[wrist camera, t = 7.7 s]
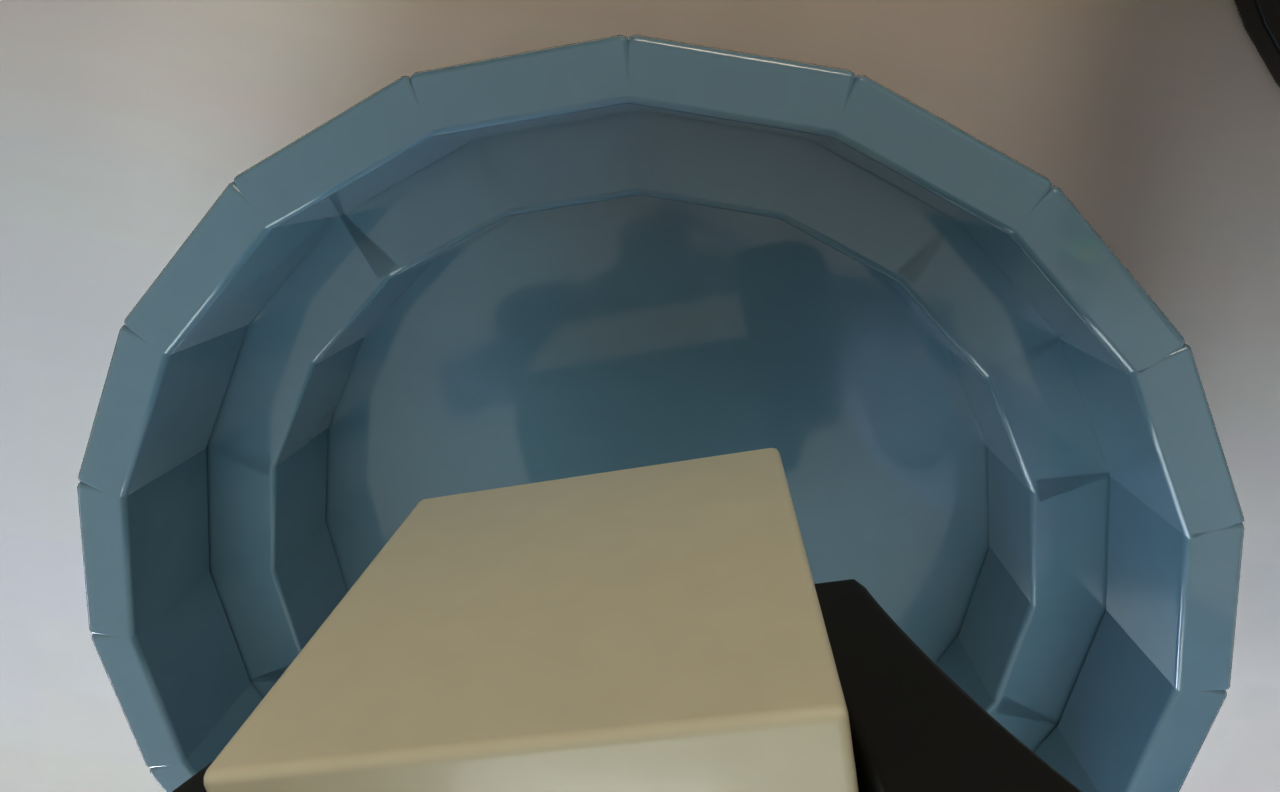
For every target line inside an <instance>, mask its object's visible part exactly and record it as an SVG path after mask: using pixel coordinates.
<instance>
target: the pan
mask: <svg viewBox="0 0 1280 792" xmlns="http://www.w3.org/2000/svg"><path fill="white" fill-rule="evenodd" d="M1234 1H1235V3H1236V6H1237V9H1238V11H1239V14H1240V17H1241V19H1242V22H1243V24H1244V27H1245V29H1246V31H1247V33H1248V35H1249V36H1250V38H1251V40H1252V42H1253V43H1254V45H1255V47H1256V49H1257V50H1258V52H1259V54H1260V56H1261V57H1262V59H1263V61H1264V63H1265V64H1266V66H1267V68H1268V69H1269V71H1270V73H1271V75H1272V76H1273V78H1274V80H1275V82H1276V83H1277V84H1278V85H1279V87H1280V0H1234Z"/></svg>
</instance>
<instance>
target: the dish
mask: <svg viewBox="0 0 1280 792" xmlns="http://www.w3.org/2000/svg"><path fill="white" fill-rule="evenodd" d="M124 323H125V325H123V326H122V328H121V329H120V331H119V334H118V338H117V342H116V345H115V349H114V352H113V356H112V359H111V363H110V366H109V370H108V373H107V377H106V380H105V384H104V388H103V391H102V395H101V398H100V402H99V405H98V409H97V412H96V416H95V419H94V423H93V426H92V430H91V433H90V437H89V441H88V444H87V448H86V451H85V455H84V458H83V462H82V465H81V469H80V472H79V476H78V479H79V481H80V483H79V484H78V487H77V490H78V502H79V514H80V525H81V537H82V549H83V561H84V572H85V584H86V596H87V608H88V619H89V630H90V631H91V633H93V635H92V641H93V643H94V645H95V648H96V650H97V652H98V655H99V657H100V659H101V662H102V664H103V666H104V669H105V671H106V673H107V675H108V678H109V680H110V682H111V685H112V687H113V689H114V692H115V694H116V696H117V699H118V701H119V703H120V706H121V708H122V710H123V713H124V715H125V717H126V720H127V722H128V724H129V726H130V729H131V731H132V733H133V736H134V738H135V740H136V743H137V745H138V747H139V750H140V752H141V754H142V757H143V759H144V761H145V764H146V766H148V767H149V768H151V769H150V773H151V774H152V776H153V777H154V778H155V779H156V781H157V782H158V783H159V784H160V785H161V787H162V788H163V789H164V790H165V791H166V792H172V791H173V790H175V789H176V788H178V787H179V786H180V785H182V784H183V783H184V782H186V781H187V780H188V779H190V778H191V777H192V776H194V775H195V774H196V773H198V772H199V771H200V770H202V769H203V768H205V767H206V766H207V765H208V764H210V763H211V762H212V761H214V760H215V759H216V758H217V756H218V755H219V754H220V753H221V751H222V750H223V749H224V748H225V746H226V745H227V744H228V743H229V741H230V740H231V739H232V737H233V736H234V735H235V734H236V732H237V731H238V730H239V729H240V727H241V726H242V725H243V724H244V722H245V721H246V720H247V719H248V717H249V716H250V715H251V714H252V712H253V711H254V710H255V708H256V707H257V706H258V705H259V703H260V702H261V701H262V700H263V698H264V697H265V696H266V695H267V693H268V692H269V691H270V690H271V688H272V687H273V686H274V685H275V683H276V682H277V681H278V679H279V678H280V677H281V676H282V674H283V673H284V672H285V671H286V669H287V668H288V667H289V666H290V664H291V663H292V662H293V661H294V659H295V658H296V657H297V656H298V654H299V653H300V652H301V650H302V649H303V648H304V647H305V645H306V644H307V643H308V642H309V640H310V639H311V638H312V637H313V635H314V634H315V633H316V632H317V630H318V629H319V628H320V626H321V625H322V624H323V623H324V621H325V620H326V619H327V618H328V616H329V615H330V614H331V613H332V611H333V610H334V609H335V608H336V606H337V605H338V604H339V603H340V601H341V600H342V599H343V597H344V596H345V595H346V594H347V592H348V591H349V590H350V589H351V587H352V586H353V585H354V584H355V582H356V581H357V580H358V579H359V577H360V576H361V575H362V574H363V572H364V571H365V570H366V568H367V567H368V566H369V565H370V563H371V562H372V561H373V560H374V558H375V557H376V556H377V555H378V553H379V552H380V551H381V550H382V548H383V547H384V546H385V545H386V543H387V542H388V541H389V539H390V538H391V537H392V536H393V534H394V533H395V532H396V531H397V529H398V528H399V527H400V526H401V524H402V523H403V522H404V521H405V519H406V518H407V517H408V516H409V514H410V513H411V512H412V510H413V509H414V508H415V507H416V505H417V504H418V503H419V502H420V501H422V500H423V499H429V498H435V497H442V496H449V495H456V494H462V493H469V492H476V491H483V490H489V489H496V488H503V487H510V486H516V485H523V484H530V483H537V482H543V481H550V480H557V479H564V478H570V477H577V476H584V475H591V474H597V473H604V472H611V471H618V470H624V469H631V468H638V467H645V466H651V465H658V464H665V463H672V462H678V461H685V460H692V459H699V458H705V457H712V456H719V455H726V454H732V453H739V452H746V451H753V450H759V449H766V448H776V449H777V450H778V452H779V453H780V456H781V460H782V464H783V468H784V471H785V475H786V479H787V483H788V487H789V490H790V494H791V498H792V502H793V505H794V509H795V513H796V517H797V521H798V524H799V528H800V532H801V536H802V540H803V543H804V547H805V551H806V555H807V558H808V562H809V566H810V570H811V574H812V577H813V581H814V584H817V583H825V582H833V581H841V580H849V579H855V580H856V581H857V582H859V583H860V584H861V585H863V586H864V587H865V588H866V589H867V590H868V592H869V593H870V594H871V595H872V597H873V598H874V599H875V600H876V601H877V602H878V604H879V605H880V606H881V607H882V608H883V609H884V611H885V612H886V613H887V614H888V615H889V616H890V617H891V618H892V619H893V621H894V622H895V623H896V624H897V625H898V626H899V627H900V628H901V629H902V630H903V631H904V632H905V633H906V634H907V635H908V636H909V638H910V639H911V640H912V641H913V642H914V643H915V644H916V645H917V646H918V647H919V648H920V649H921V650H922V651H923V652H924V653H925V654H926V655H927V656H928V657H929V658H930V659H931V660H932V661H933V662H934V663H935V664H936V665H937V666H938V667H939V668H940V669H941V670H942V671H943V672H944V673H946V674H947V675H948V676H949V677H950V678H951V679H952V680H953V681H954V682H955V683H956V684H957V685H958V686H959V687H960V688H961V689H963V690H964V691H965V692H966V693H967V694H968V695H969V696H970V697H971V698H972V699H973V700H974V701H975V702H976V703H977V704H978V705H980V706H981V707H982V708H983V709H984V710H985V711H986V712H987V713H988V714H990V715H991V716H992V717H993V718H994V719H995V720H996V721H998V722H999V723H1000V724H1001V725H1002V726H1003V727H1004V728H1005V729H1007V730H1008V731H1009V732H1010V733H1011V734H1012V735H1014V736H1015V737H1016V738H1017V739H1018V740H1020V741H1021V742H1022V743H1023V744H1024V745H1025V746H1027V747H1028V748H1029V749H1030V750H1031V751H1033V752H1034V753H1035V754H1036V755H1037V756H1039V757H1040V758H1041V759H1042V760H1043V761H1045V762H1046V763H1047V764H1048V765H1049V766H1051V767H1052V768H1053V769H1054V770H1055V771H1057V772H1058V773H1059V774H1060V775H1062V776H1063V777H1064V778H1065V779H1067V780H1068V781H1069V782H1070V783H1072V784H1073V785H1074V786H1076V787H1077V788H1078V789H1079V790H1081V791H1082V792H1179V791H1180V789H1181V787H1182V785H1183V783H1184V781H1185V779H1186V777H1187V775H1188V773H1189V771H1190V769H1191V767H1192V765H1193V763H1194V760H1195V758H1196V756H1197V754H1198V752H1199V750H1200V748H1201V746H1202V744H1203V742H1204V740H1205V738H1206V736H1207V734H1208V732H1209V730H1210V728H1211V726H1212V724H1213V722H1214V720H1215V718H1216V716H1217V714H1218V712H1219V710H1220V708H1221V706H1222V704H1223V702H1224V700H1225V698H1226V696H1227V692H1226V690H1227V689H1229V687H1230V680H1231V669H1232V658H1233V647H1234V636H1235V625H1236V614H1237V602H1238V591H1239V580H1240V569H1241V558H1242V547H1243V536H1244V526H1243V523H1242V522H1243V521H1244V517H1243V514H1242V510H1241V507H1240V504H1239V501H1238V498H1237V494H1236V491H1235V488H1234V485H1233V482H1232V478H1231V475H1230V472H1229V469H1228V466H1227V463H1226V459H1225V456H1224V453H1223V450H1222V447H1221V443H1220V440H1219V437H1218V434H1217V431H1216V427H1215V424H1214V421H1213V418H1212V415H1211V412H1210V408H1209V405H1208V402H1207V399H1206V396H1205V392H1204V389H1203V386H1202V383H1201V380H1200V376H1199V373H1198V370H1197V367H1196V364H1195V361H1194V357H1193V354H1192V351H1191V348H1190V347H1189V346H1188V345H1187V344H1185V341H1184V338H1183V336H1182V335H1181V334H1180V333H1179V332H1178V330H1177V329H1176V328H1175V327H1174V326H1173V324H1172V323H1171V322H1170V321H1169V320H1168V318H1167V317H1166V316H1165V315H1164V314H1163V312H1162V311H1161V310H1160V309H1159V307H1158V306H1157V305H1156V304H1155V303H1154V301H1153V300H1152V299H1151V298H1150V297H1149V295H1148V294H1147V293H1146V292H1145V291H1144V289H1143V288H1142V287H1141V286H1140V285H1139V283H1138V282H1137V281H1136V280H1135V279H1134V277H1133V276H1132V275H1131V274H1130V273H1129V271H1128V270H1127V269H1126V268H1125V266H1124V265H1123V264H1122V263H1121V262H1120V260H1119V259H1118V258H1117V257H1116V256H1115V254H1114V253H1113V252H1112V251H1111V250H1110V248H1109V247H1108V246H1107V245H1106V244H1105V242H1104V241H1103V240H1102V239H1101V238H1100V236H1099V235H1098V234H1097V233H1096V231H1095V230H1094V229H1093V228H1092V227H1091V225H1090V224H1089V223H1088V222H1087V221H1086V219H1085V218H1084V217H1083V216H1082V215H1081V213H1080V212H1079V211H1078V210H1077V209H1076V207H1075V206H1074V205H1073V204H1072V203H1071V201H1070V200H1069V199H1068V198H1067V196H1066V195H1065V194H1064V193H1063V192H1062V190H1061V189H1060V188H1058V187H1056V186H1052V184H1051V182H1050V181H1049V179H1048V178H1046V177H1044V176H1043V175H1041V174H1039V173H1037V172H1035V171H1034V170H1032V169H1030V168H1028V167H1027V166H1025V165H1023V164H1021V163H1019V162H1018V161H1016V160H1014V159H1012V158H1011V157H1009V156H1007V155H1005V154H1003V153H1002V152H1000V151H998V150H996V149H995V148H993V147H991V146H989V145H987V144H986V143H984V142H982V141H980V140H979V139H977V138H975V137H973V136H971V135H970V134H968V133H966V132H964V131H963V130H961V129H959V128H957V127H956V126H954V125H952V124H950V123H948V122H947V121H945V120H943V119H941V118H940V117H938V116H936V115H934V114H932V113H931V112H929V111H927V110H925V109H924V108H922V107H920V106H918V105H916V104H915V103H913V102H911V101H909V100H908V99H906V98H904V97H902V96H900V95H899V94H897V93H895V92H893V91H892V90H890V89H888V88H886V87H884V86H883V85H881V84H879V83H877V82H876V81H874V80H872V79H870V78H869V77H867V76H865V75H857V76H855V73H853V72H852V71H850V70H846V69H840V68H834V67H828V66H822V65H816V64H810V63H804V62H798V61H792V60H786V59H780V58H774V57H767V56H761V55H755V54H749V53H743V52H737V51H731V50H725V49H719V48H713V47H707V46H701V45H695V44H689V43H683V42H677V41H671V40H665V39H659V38H653V37H647V36H641V35H633V36H630V38H629V40H628V38H627V37H626V36H623V35H617V36H611V37H606V38H600V39H595V40H589V41H584V42H578V43H573V44H567V45H562V46H557V47H551V48H546V49H540V50H535V51H529V52H524V53H518V54H513V55H507V56H502V57H497V58H491V59H486V60H480V61H475V62H469V63H464V64H458V65H453V66H447V67H442V68H436V69H431V70H426V71H420V72H415V73H414V74H413V75H411V77H410V76H402V77H401V78H399V79H397V80H396V81H394V82H392V83H391V84H389V85H387V86H386V87H384V88H382V89H381V90H379V91H377V92H376V93H374V94H372V95H371V96H369V97H367V98H366V99H364V100H362V101H361V102H359V103H357V104H356V105H354V106H352V107H351V108H349V109H347V110H346V111H344V112H342V113H341V114H339V115H337V116H336V117H334V118H332V119H331V120H329V121H327V122H326V123H324V124H322V125H321V126H319V127H317V128H316V129H314V130H312V131H311V132H309V133H307V134H306V135H304V136H302V137H301V138H299V139H297V140H296V141H294V142H292V143H291V144H289V145H287V146H286V147H284V148H282V149H281V150H279V151H277V152H276V153H274V154H272V155H271V156H269V157H267V158H266V159H264V160H262V161H261V162H259V163H257V164H255V165H254V166H252V167H250V168H249V169H247V170H245V171H244V172H242V173H240V174H239V175H237V176H236V177H235V179H234V182H232V183H230V184H229V185H228V186H227V188H226V189H225V190H224V191H223V193H222V194H221V195H220V197H219V198H218V199H217V201H216V202H215V203H214V204H213V206H212V207H211V208H210V210H209V211H208V212H207V214H206V215H205V216H204V217H203V219H202V220H201V221H200V223H199V224H198V225H197V227H196V228H195V229H194V230H193V232H192V233H191V234H190V236H189V237H188V238H187V240H186V241H185V242H184V243H183V245H182V246H181V247H180V249H179V250H178V251H177V252H176V254H175V255H174V256H173V258H172V259H171V260H170V262H169V263H168V264H167V265H166V267H165V268H164V269H163V271H162V272H161V273H160V275H159V276H158V277H157V278H156V280H155V281H154V282H153V284H152V285H151V286H150V288H149V289H148V290H147V291H146V293H145V294H144V295H143V297H142V298H141V299H140V301H139V302H138V303H137V304H136V306H135V307H134V308H133V310H132V311H131V312H130V314H129V315H128V316H127V317H126V319H125V321H124Z"/></svg>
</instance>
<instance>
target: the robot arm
mask: <svg viewBox="0 0 1280 792" xmlns="http://www.w3.org/2000/svg"><path fill="white" fill-rule="evenodd" d="M814 585H815V589H816V593H817V596H818V600H819V604H820V608H821V611H822V615H823V619H824V623H825V627H826V630H827V634H828V638H829V642H830V646H831V649H832V653H833V657H834V661H835V664H836V668H837V672H838V676H839V680H840V683H841V687H842V691H843V695H844V699H845V702H846V706H847V710H848V715H849V722H850V730H851V737H852V745H853V753H854V760H855V768H856V775H857V783H858V790H859V792H1082V791H1081V790H1079V789H1078V788H1077V787H1076V786H1074V785H1073V784H1072V783H1070V782H1069V781H1068V780H1067V779H1065V778H1064V777H1063V776H1062V775H1060V774H1059V773H1058V772H1057V771H1055V770H1054V769H1053V768H1052V767H1051V766H1049V765H1048V764H1047V763H1046V762H1045V761H1043V760H1042V759H1041V758H1040V757H1039V756H1037V755H1036V754H1035V753H1034V752H1033V751H1031V750H1030V749H1029V748H1028V747H1027V746H1025V745H1024V744H1023V743H1022V742H1021V741H1020V740H1018V739H1017V738H1016V737H1015V736H1014V735H1012V734H1011V733H1010V732H1009V731H1008V730H1007V729H1005V728H1004V727H1003V726H1002V725H1001V724H1000V723H999V722H998V721H996V720H995V719H994V718H993V717H992V716H991V715H990V714H988V713H987V712H986V711H985V710H984V709H983V708H982V707H981V706H980V705H978V704H977V703H976V702H975V701H974V700H973V699H972V698H971V697H970V696H969V695H968V694H967V693H966V692H965V691H964V690H963V689H961V688H960V687H959V686H958V685H957V684H956V683H955V682H954V681H953V680H952V679H951V678H950V677H949V676H948V675H947V674H946V673H944V672H943V671H942V670H941V669H940V668H939V667H938V666H937V665H936V664H935V663H934V662H933V661H932V660H931V659H930V658H929V657H928V656H927V655H926V654H925V653H924V652H923V651H922V650H921V649H920V648H919V647H918V646H917V645H916V644H915V643H914V642H913V641H912V640H911V639H910V638H909V636H908V635H907V634H906V633H905V632H904V631H903V630H902V629H901V628H900V627H899V626H898V625H897V624H896V623H895V622H894V621H893V619H892V618H891V617H890V616H889V615H888V614H887V613H886V612H885V611H884V609H883V608H882V607H881V606H880V605H879V604H878V602H877V601H876V600H875V599H874V598H873V597H872V595H871V594H870V593H869V592H868V590H867V589H866V588H865V587H864V586H863V585H861V584H860V583H859V582H857V581H856V580H855V579H849V580H841V581H833V582H825V583H817V584H814ZM212 763H213V761H212V762H211V763H210V764H208V765H207V766H206V767H205V768H203V769H202V770H200V771H199V772H198V773H196V774H195V775H194V776H192V777H191V778H190V779H188V780H187V781H186V782H184V783H183V784H182V785H180V786H179V787H178V788H176V789H175V790H173V791H172V792H207V791H206V789H205V787H204V775H205V772H206V770H207V769H208V768H209V766H210V765H211V764H212Z"/></svg>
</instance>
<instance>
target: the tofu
mask: <svg viewBox="0 0 1280 792" xmlns="http://www.w3.org/2000/svg"><path fill="white" fill-rule="evenodd" d="M204 787H205V789H206V791H207V792H859V790H858V783H857V775H856V768H855V760H854V753H853V745H852V737H851V730H850V722H849V715H848V710H847V706H846V702H845V699H844V695H843V691H842V687H841V683H840V680H839V676H838V672H837V668H836V664H835V661H834V657H833V653H832V649H831V646H830V642H829V638H828V634H827V630H826V627H825V623H824V619H823V615H822V611H821V608H820V604H819V600H818V596H817V593H816V589H815V585H814V581H813V577H812V574H811V570H810V566H809V562H808V558H807V555H806V551H805V547H804V543H803V540H802V536H801V532H800V528H799V524H798V521H797V517H796V513H795V509H794V505H793V502H792V498H791V494H790V490H789V487H788V483H787V479H786V475H785V471H784V468H783V464H782V460H781V456H780V453H779V452H778V450H777V449H776V448H766V449H759V450H753V451H746V452H739V453H732V454H726V455H719V456H712V457H705V458H699V459H692V460H685V461H678V462H672V463H665V464H658V465H651V466H645V467H638V468H631V469H624V470H618V471H611V472H604V473H597V474H591V475H584V476H577V477H570V478H564V479H557V480H550V481H543V482H537V483H530V484H523V485H516V486H510V487H503V488H496V489H489V490H483V491H476V492H469V493H462V494H456V495H449V496H442V497H435V498H429V499H423V500H422V501H420V502H419V503H418V504H417V505H416V507H415V508H414V509H413V510H412V512H411V513H410V514H409V516H408V517H407V518H406V519H405V521H404V522H403V523H402V524H401V526H400V527H399V528H398V529H397V531H396V532H395V533H394V534H393V536H392V537H391V538H390V539H389V541H388V542H387V543H386V545H385V546H384V547H383V548H382V550H381V551H380V552H379V553H378V555H377V556H376V557H375V558H374V560H373V561H372V562H371V563H370V565H369V566H368V567H367V568H366V570H365V571H364V572H363V574H362V575H361V576H360V577H359V579H358V580H357V581H356V582H355V584H354V585H353V586H352V587H351V589H350V590H349V591H348V592H347V594H346V595H345V596H344V597H343V599H342V600H341V601H340V603H339V604H338V605H337V606H336V608H335V609H334V610H333V611H332V613H331V614H330V615H329V616H328V618H327V619H326V620H325V621H324V623H323V624H322V625H321V626H320V628H319V629H318V630H317V632H316V633H315V634H314V635H313V637H312V638H311V639H310V640H309V642H308V643H307V644H306V645H305V647H304V648H303V649H302V650H301V652H300V653H299V654H298V656H297V657H296V658H295V659H294V661H293V662H292V663H291V664H290V666H289V667H288V668H287V669H286V671H285V672H284V673H283V674H282V676H281V677H280V678H279V679H278V681H277V682H276V683H275V685H274V686H273V687H272V688H271V690H270V691H269V692H268V693H267V695H266V696H265V697H264V698H263V700H262V701H261V702H260V703H259V705H258V706H257V707H256V708H255V710H254V711H253V712H252V714H251V715H250V716H249V717H248V719H247V720H246V721H245V722H244V724H243V725H242V726H241V727H240V729H239V730H238V731H237V732H236V734H235V735H234V736H233V737H232V739H231V740H230V741H229V743H228V744H227V745H226V746H225V748H224V749H223V750H222V751H221V753H220V754H219V755H218V756H217V758H216V759H215V760H214V761H213V763H212V764H211V765H210V766H209V768H208V769H207V770H206V772H205V775H204Z"/></svg>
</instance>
